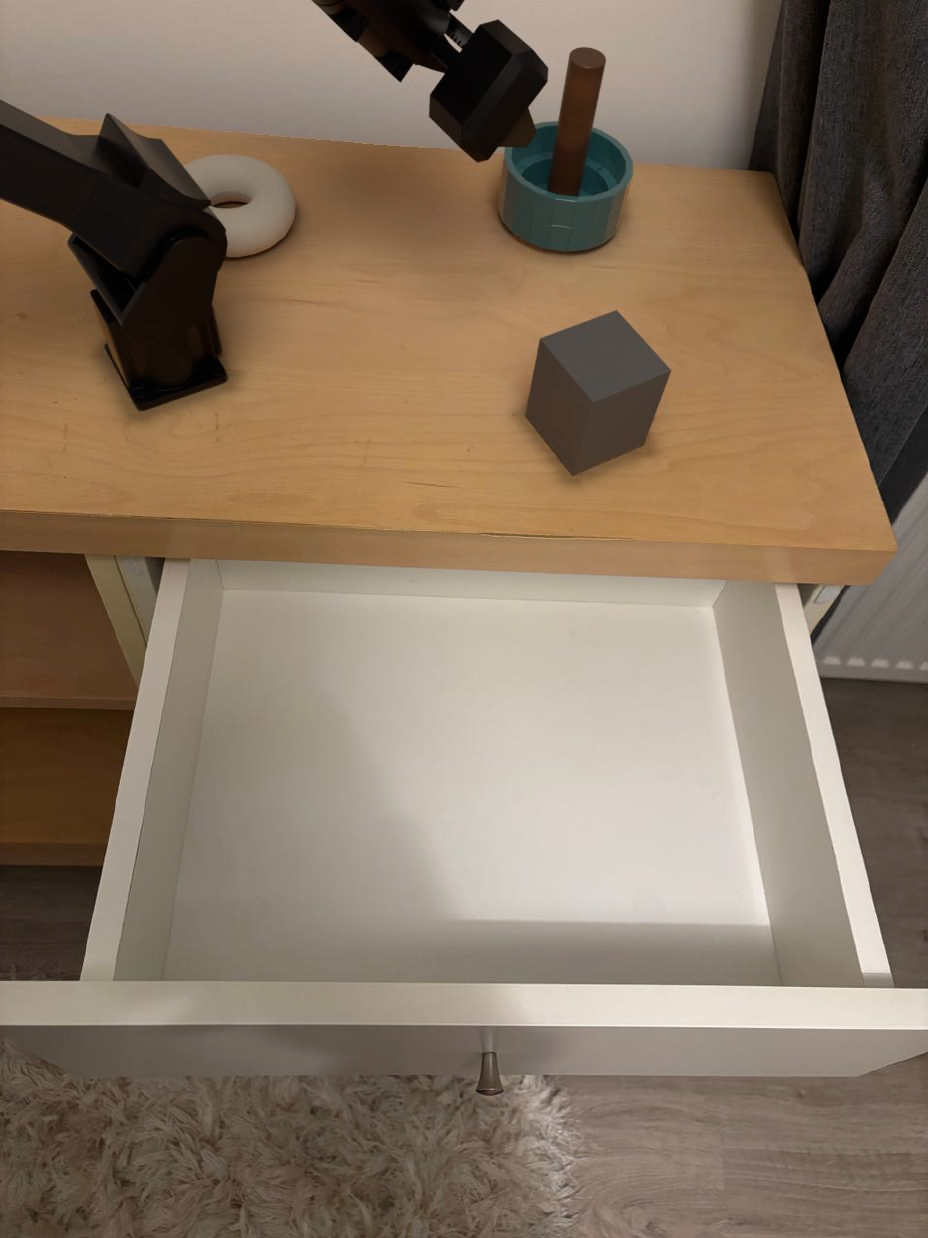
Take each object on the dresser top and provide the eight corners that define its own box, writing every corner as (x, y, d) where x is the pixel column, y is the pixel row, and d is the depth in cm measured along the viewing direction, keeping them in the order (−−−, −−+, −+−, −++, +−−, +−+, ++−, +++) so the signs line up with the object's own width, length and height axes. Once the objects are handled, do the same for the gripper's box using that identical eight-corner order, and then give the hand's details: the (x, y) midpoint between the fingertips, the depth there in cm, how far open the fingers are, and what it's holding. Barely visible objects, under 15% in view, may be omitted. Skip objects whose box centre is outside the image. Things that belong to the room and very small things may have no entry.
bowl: (540, 271, 70) (550, 215, 66) (474, 197, 74) (480, 138, 70) (642, 236, 73) (658, 179, 69) (574, 166, 77) (585, 108, 73)
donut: (240, 169, 74) (139, 219, 70) (235, 128, 71) (128, 178, 67) (324, 229, 71) (223, 285, 67) (322, 189, 68) (217, 245, 64)
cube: (572, 476, 60) (593, 402, 54) (524, 415, 63) (539, 338, 57) (644, 445, 62) (672, 370, 56) (595, 387, 65) (616, 309, 59)
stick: (570, 223, 73) (601, 70, 62) (539, 215, 73) (565, 61, 62) (578, 204, 74) (610, 52, 63) (548, 196, 74) (574, 42, 64)
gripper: (546, -124, 41) (665, 65, 55) (343, -274, 48) (492, -75, 62) (397, 93, 46) (541, 219, 59) (230, -75, 53) (392, 71, 66)
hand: (491, 102), depth 61 cm, fingers open, 9 cm apart
